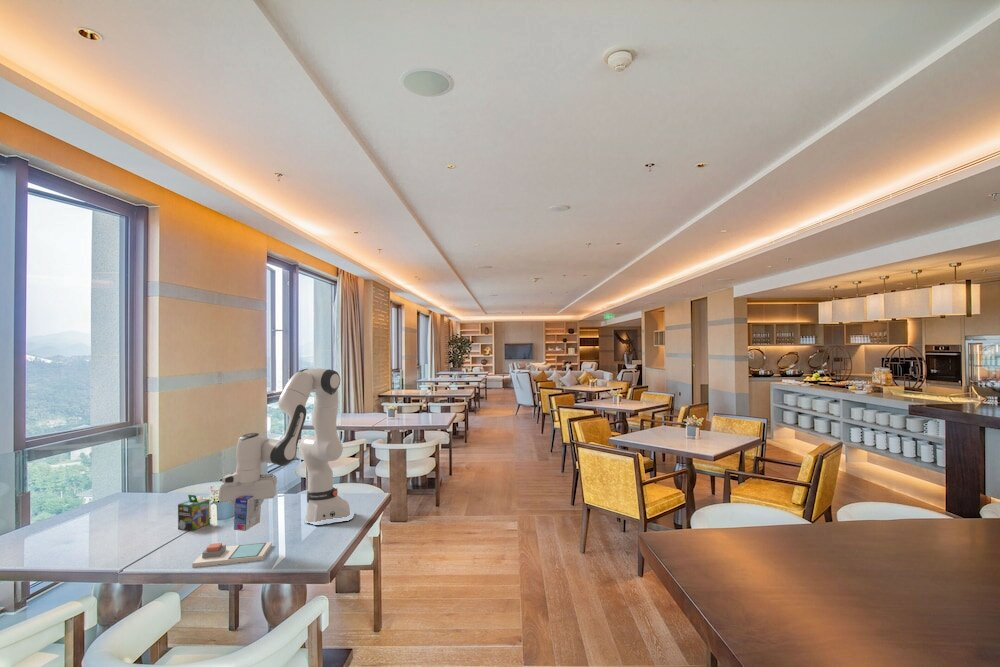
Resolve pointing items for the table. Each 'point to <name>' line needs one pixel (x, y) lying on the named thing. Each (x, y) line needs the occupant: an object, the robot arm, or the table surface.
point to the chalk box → (193, 514)
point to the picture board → (233, 554)
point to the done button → (214, 547)
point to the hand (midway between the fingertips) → (248, 511)
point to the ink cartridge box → (246, 513)
